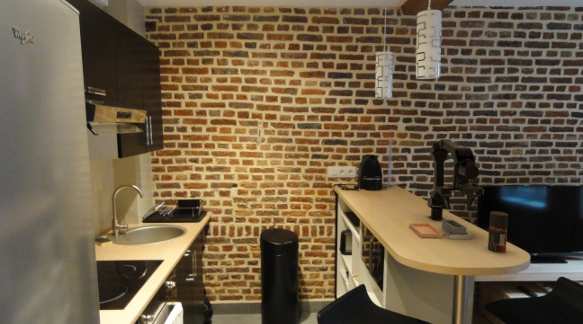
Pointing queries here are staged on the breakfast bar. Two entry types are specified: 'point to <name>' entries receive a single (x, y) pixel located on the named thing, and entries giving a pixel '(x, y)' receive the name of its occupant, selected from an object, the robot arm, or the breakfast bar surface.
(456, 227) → the box
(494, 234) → the deodorant
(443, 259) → the breakfast bar surface
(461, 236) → the bay
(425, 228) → the tray
